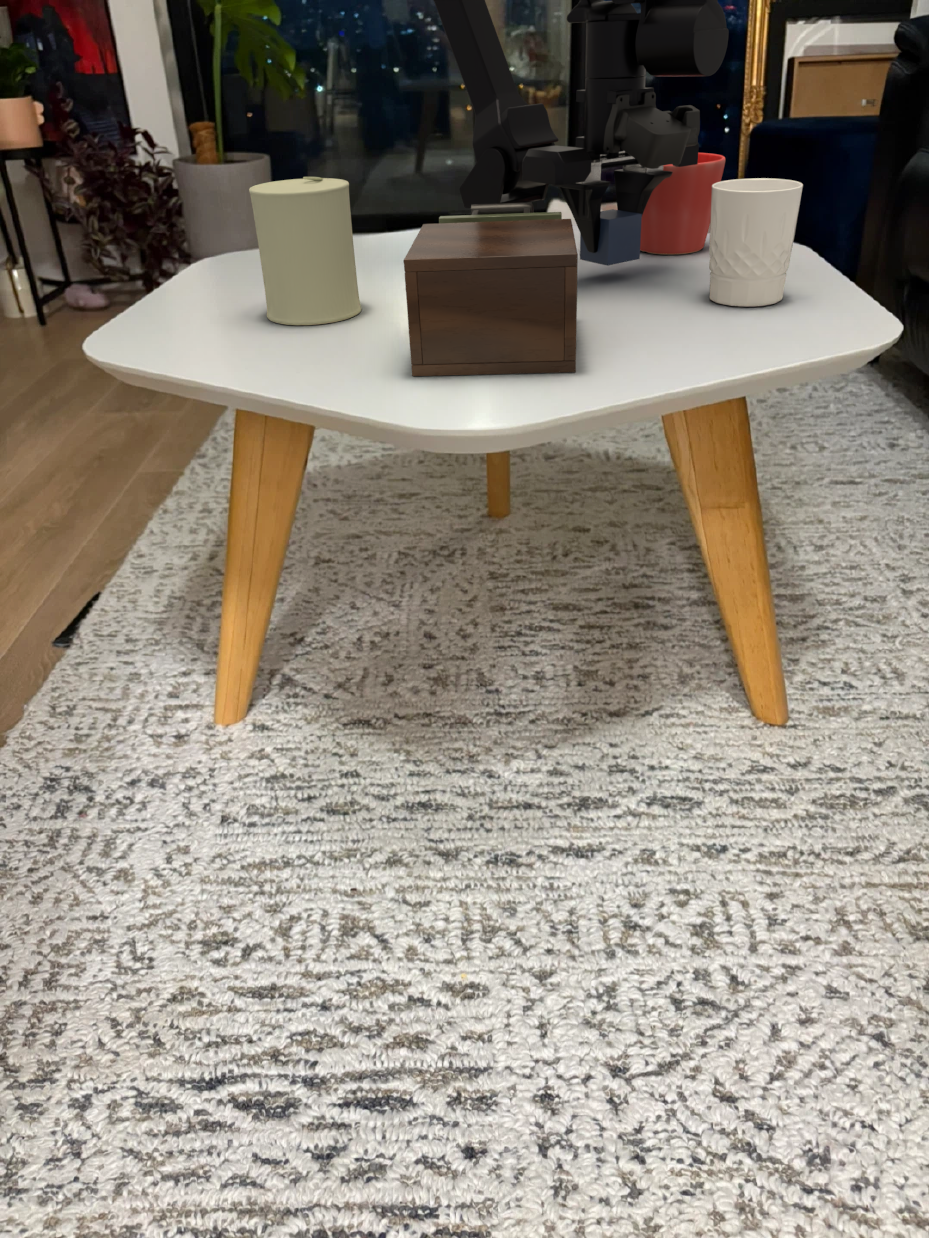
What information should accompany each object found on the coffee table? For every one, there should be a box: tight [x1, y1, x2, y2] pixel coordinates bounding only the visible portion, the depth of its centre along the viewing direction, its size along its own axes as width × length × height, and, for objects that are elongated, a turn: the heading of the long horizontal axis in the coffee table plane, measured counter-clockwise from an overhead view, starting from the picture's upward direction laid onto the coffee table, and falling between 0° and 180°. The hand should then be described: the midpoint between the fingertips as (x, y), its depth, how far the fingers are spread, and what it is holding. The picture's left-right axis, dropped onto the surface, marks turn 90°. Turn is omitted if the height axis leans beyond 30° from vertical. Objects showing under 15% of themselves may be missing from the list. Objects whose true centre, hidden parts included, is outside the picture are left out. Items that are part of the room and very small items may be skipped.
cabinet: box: [403, 218, 579, 377], centre depth 80 cm, size 15×13×9 cm
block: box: [579, 208, 642, 266], centre depth 101 cm, size 4×4×4 cm
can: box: [248, 176, 362, 326], centre depth 92 cm, size 9×9×12 cm
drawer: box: [438, 201, 563, 224], centre depth 91 cm, size 18×12×7 cm, turn 177°
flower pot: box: [640, 152, 726, 256], centre depth 111 cm, size 11×11×10 cm
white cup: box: [708, 177, 804, 308], centre depth 90 cm, size 8×8×10 cm
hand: (609, 249), depth 101 cm, fingers closed on block, 4 cm apart
